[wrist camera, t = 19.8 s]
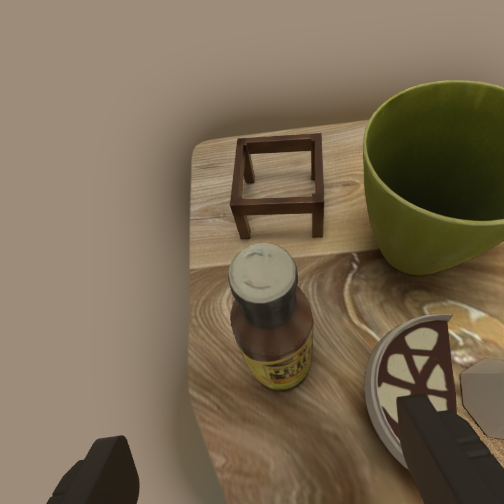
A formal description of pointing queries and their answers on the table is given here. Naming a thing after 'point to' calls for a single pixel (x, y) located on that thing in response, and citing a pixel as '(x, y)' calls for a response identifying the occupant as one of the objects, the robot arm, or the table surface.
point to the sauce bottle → (271, 316)
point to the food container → (409, 374)
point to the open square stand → (277, 205)
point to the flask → (485, 395)
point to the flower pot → (436, 174)
